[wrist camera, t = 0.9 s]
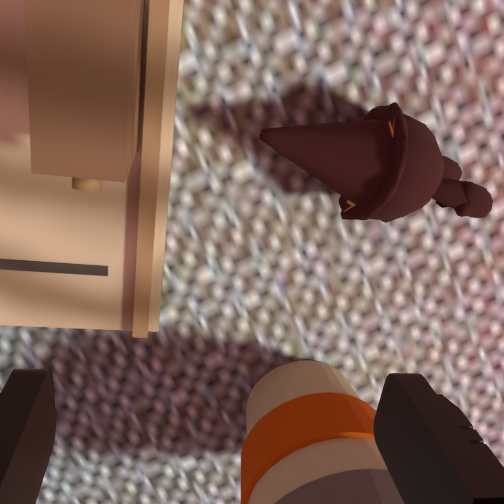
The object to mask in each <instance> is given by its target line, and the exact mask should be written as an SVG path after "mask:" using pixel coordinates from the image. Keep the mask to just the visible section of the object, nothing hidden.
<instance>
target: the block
mask: <svg viewBox="0 0 504 504" xmlns="http://www.w3.org/2000/svg"><path fill="white" fill-rule="evenodd" d="M144 6H145V0H25V23H26V48H27V74H28V99H29V124H30V149H31V173H33V174H43V175H53V176H63V177H72V188H73V189H75V190H79V191H88V192H91V191H98V190H101V189H102V180H104V181H114V182H124V183H125V181H126V178H127V176H128V173H129V171H130V169H131V166H132V164H133V161H134V159H135V156H136V154H137V151H138V132H139V111H140V90H141V69H142V48H143V27H144Z"/></svg>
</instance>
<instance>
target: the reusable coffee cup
mask: <svg viewBox="0 0 504 504" xmlns="http://www.w3.org/2000/svg"><path fill="white" fill-rule="evenodd" d="M375 415H376V410H375V409H373V408H372V407H371V406H370V405H369V404H368V403H366V402H364V401H362V400H361V399H360V398H359V396H358V395H357V394H356V392H355V391H354V389H353V388H352V387H351V385H350V384H349V383H348V381H347V380H346V378H345V377H344V376H343V374H342V373H341V372H339V371H338V370H337V369H336V368H334V367H332V366H331V365H329V364H326V363H323V362H319V361H312V360H301V361H294V362H290V363H286V364H284V365H281V366H278V367H276V368H275V369H273V370H271V371H270V372H268V373H267V374H265V375H264V376H263V377H262V378H261V379H260V380H259V381H258V382H257V383H256V384H255V386H254V387H253V389H252V391H251V392H250V394H249V397H248V401H247V407H246V440H245V442H244V445H243V449H242V452H241V504H404V502H403V500H402V498H401V496H400V494H399V492H398V490H397V488H396V486H395V483H394V481H393V479H392V477H391V475H390V473H389V471H388V469H387V467H386V464H385V462H384V460H383V458H382V456H381V454H380V452H379V450H378V448H377V445H376V442H375V438H374V431H373V425H374V418H375Z"/></svg>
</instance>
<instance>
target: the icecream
mask: <svg viewBox="0 0 504 504" xmlns="http://www.w3.org/2000/svg"><path fill="white" fill-rule="evenodd" d="M259 139H260V140H262V141H263V142H264V143H266V144H267V145H269V146H270V147H272V148H273V149H274V150H276V151H277V152H279V153H280V154H282V155H283V156H285V157H286V158H288V159H289V160H291V161H292V162H294V163H295V164H297V165H298V166H300V167H301V168H302V169H304V170H305V171H307V172H308V173H310V174H311V175H313V176H314V177H316V178H317V179H319V180H320V181H321V182H323V183H324V184H326V185H327V186H329V187H330V188H332V189H333V190H335V191H336V192H337V193H339V194H340V195H341V196H340V199H339V204H340V207H341V209H342V211H341V217H342V219H346V220H352V219H358V220H367V219H376V220H381V221H383V222H389V221H392V220H394V219H397V218H401V217H404V216H406V215H408V214H410V213H412V212H414V211H416V210H418V209H420V208H422V207H423V206H424V205H426V204H427V203H428V202H429V201H430V199H431V198H433V199H434V200H436V203H437V204H438V205H439V206H440V207H442V208H444V207H451V208H454V210H455V211H456V213H457V215H458V216H461V217H463V216H469V217H473V218H483V217H486V216H487V214H488V213H489V212H490V211H491V209H492V203H493V200H492V197H491V195H490V193H489V192H488V191H487V189H486V188H484V187H482V186H479V185H477V184H475V183H472V182H467V181H459V179H460V178H461V175H462V171H461V168H460V167H459V165H458V163H457V162H455V161H453V160H451V159H450V158H448V157H445V156H442V155H441V152H440V149H439V147H438V144H437V141H436V138H435V136H434V135H433V133H432V132H431V131H430V130H429V128H428V127H427V126H426V125H425V124H423V123H421V122H419V121H418V120H416V119H414V118H412V117H410V116H407V115H405V114H403V113H402V111H401V108H399V106H398V104H397V103H395V102H394V103H392V104H390V105H388V106H378V107H375V108H373V109H372V110H370V111H369V112H368V114H367V115H366V116H365V118H364V120H360V121H349V122H338V123H327V124H316V125H305V126H293V127H280V128H269V129H262V130H261V132H260V136H259Z"/></svg>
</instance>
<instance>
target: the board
mask: <svg viewBox="0 0 504 504" xmlns="http://www.w3.org/2000/svg"><path fill="white" fill-rule="evenodd" d="M183 1H184V0H145V6H144V27H143V48H142V69H141V90H140V111H139V132H138V151H137V154H136V156H135V159H134V161H133V164H132V166H131V169H130V171H129V173H128V176H127V178H126V181H125V183H124V182H114V181H104V180H102V189H101V190H98V191H91V192H88V191H79V190H75V189H73V188H72V177H63V176H53V175H43V174H33V173H31V149H30V124H29V99H28V74H27V48H26V23H25V0H0V325H10V326H34V327H57V328H80V329H103V330H126V331H133V335H132V337H137V338H147V337H148V331H149V332H158V330H159V317H160V304H161V290H162V277H163V264H164V251H165V238H166V225H167V211H168V198H169V185H170V172H171V159H172V146H173V132H174V119H175V106H176V93H177V80H178V67H179V53H180V40H181V27H182V14H183Z"/></svg>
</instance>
